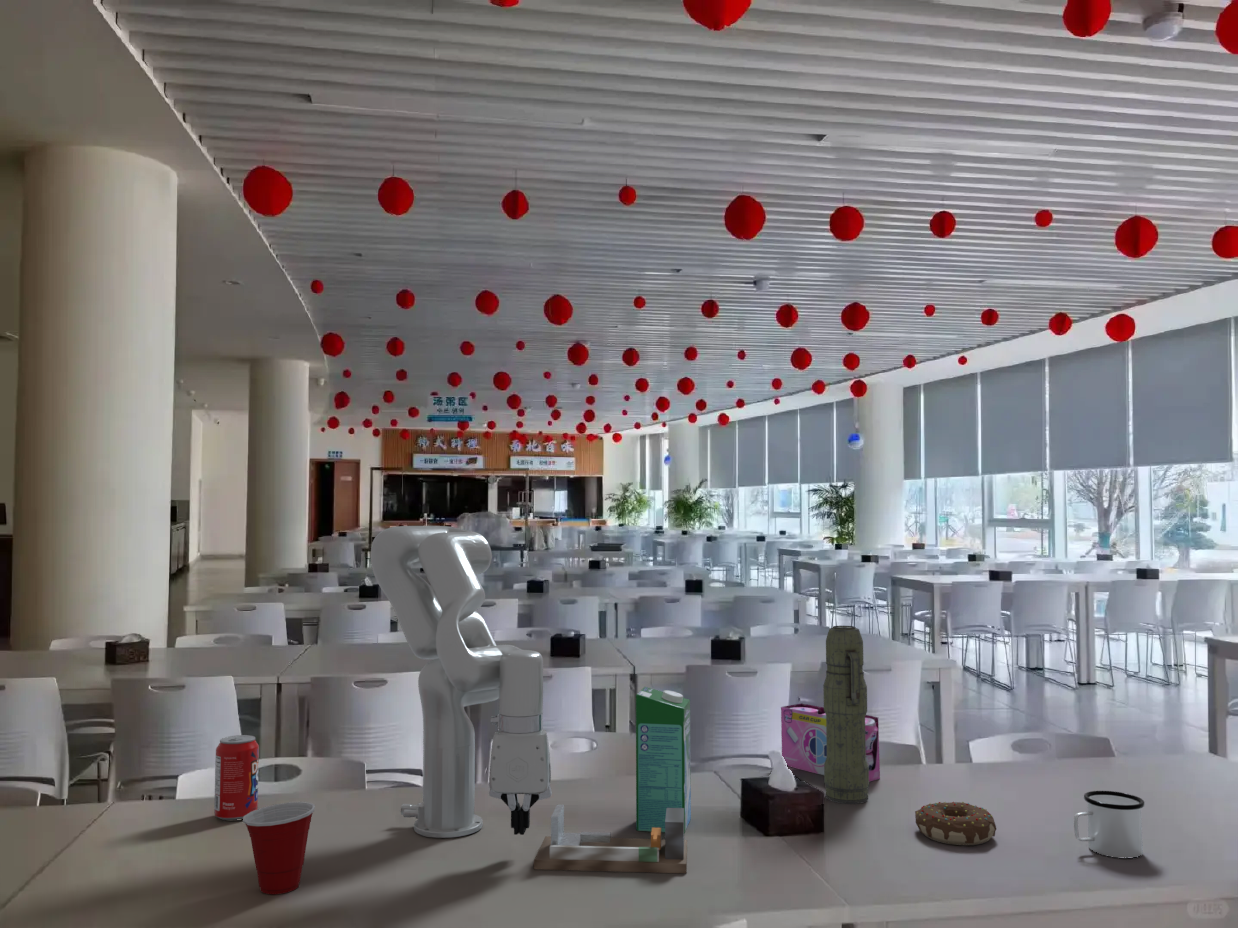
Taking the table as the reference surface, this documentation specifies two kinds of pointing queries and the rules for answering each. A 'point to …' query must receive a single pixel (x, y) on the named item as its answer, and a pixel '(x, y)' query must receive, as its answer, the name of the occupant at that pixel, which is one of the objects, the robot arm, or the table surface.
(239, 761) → the soda can
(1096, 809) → the mug
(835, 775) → the thermos
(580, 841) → the plunger
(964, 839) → the donut
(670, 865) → the base
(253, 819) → the plastic cup
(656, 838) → the pointer
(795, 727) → the gum box
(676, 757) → the milk carton
